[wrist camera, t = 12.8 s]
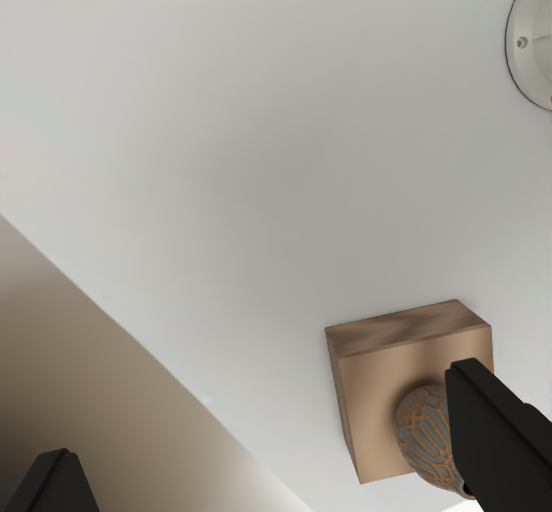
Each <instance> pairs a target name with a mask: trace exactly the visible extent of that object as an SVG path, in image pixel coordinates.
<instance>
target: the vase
mask: <svg viewBox="0 0 552 512" xmlns="http://www.w3.org/2000/svg"><path fill="white" fill-rule="evenodd" d="M394 428H395V435H396V440H397V443H398V446H399V448H400V450H401V452H402V455H403V456H404V458H405V460H406V461H407V463H408V464H409V465H410V467H411V468H412V469H413V470H414V471H415V472H416V473H417V474H418V475H419V476H420V477H421V478H423V479H424V480H425V481H427V482H428V483H430V484H432V485H434V486H436V487H438V488H441V489H444V490H448V491H452V492H456V493H458V494H459V495H460V496H462V497H464V498H465V499H468V500H476V499H475V497H474V496H473V494H472V492H471V491H470V489H469V488H468V486H467V485H466V483H465V482H464V480H463V479H462V477H461V475H460V474H459V472H458V471H457V469H456V466H455V464H454V461H453V457H452V448H451V437H450V427H449V416H448V405H447V395H446V387H444V386H440V385H427V386H422V387H419V388H416V389H414V390H413V391H411V392H410V393H408V394H407V395H406V396H405V397H404V398H403V399H402V401H401V402H400V404H399V406H398V408H397V410H396V414H395V421H394Z"/></svg>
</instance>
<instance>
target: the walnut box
mask: <svg viewBox="0 0 552 512" xmlns="http://www.w3.org/2000/svg"><path fill="white" fill-rule="evenodd" d="M325 333H326V338H327V344H328V349H329V355H330V360H331V366H332V371H333V377H334V382H335V388H336V394H337V399H338V405H339V410H340V416H341V421H342V427H343V432H344V438H345V442H346V444H347V447H348V450H349V453H350V456H351V459H352V462H353V465H354V467H355V470H356V473H357V476H358V479H359V482H360V484H364V483H368V482H373V481H377V480H382V479H386V478H390V477H395V476H399V475H403V474H408V473H412V472H415V471H414V470H413V469H412V468H411V467H410V465H409V464H408V463H407V461H406V460H405V458H404V456H403V455H402V452H401V450H400V448H399V446H398V443H397V440H396V435H395V428H394V421H395V414H396V410H397V408H398V406H399V404H400V402H401V401H402V399H403V398H404V397H405V396H406V395H407V394H408V393H410V392H411V391H413V390H414V389H416V388H419V387H422V386H427V385H440V386H444V387H446V384H445V370H446V369H450V365H451V363H452V362H454V361H459V360H463V359H468V358H472V357H474V358H476V359H478V360H479V361H480V362H481V363H482V364H483V365H484V366H485V367H486V368H487V369H488V370H489V371H491V372H492V373H493V374H494V366H493V348H492V330H491V325H489V324H488V323H487V322H485V321H484V320H483V319H481V318H480V317H479V316H477V315H476V314H475V313H473V312H472V311H471V310H470V309H468V308H467V307H466V306H464V305H463V304H462V303H460V302H459V301H458V300H451V301H446V302H442V303H437V304H433V305H428V306H423V307H419V308H414V309H410V310H405V311H401V312H396V313H391V314H387V315H382V316H378V317H373V318H369V319H364V320H359V321H355V322H350V323H346V324H341V325H336V326H332V327H327V328H325Z"/></svg>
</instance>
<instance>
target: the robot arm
mask: <svg viewBox="0 0 552 512" xmlns="http://www.w3.org/2000/svg"><path fill="white" fill-rule="evenodd" d="M517 43H518V46H517ZM506 52H507V58H508V64H509V67H510V70H511V73H512V76H513V78H514V80H515V82H516V83H517V85H518V87H519V88H520V90H521V91H522V92H523V93H524V94H525V95H526V96H527V97H528V98H529V99H530V100H531V101H533V102H534V103H536V104H537V105H539V106H541V107H543V108H546V109H549V110H552V0H515V2H514V5H513V8H512V11H511V14H510V17H509V22H508V28H507V34H506ZM445 384H446V395H447V405H448V416H449V427H450V437H451V448H452V457H453V461H454V464H455V466H456V469H457V471H458V472H459V474H460V475H461V477H462V479H463V480H464V482H465V483H466V485H467V486H468V488H469V489H470V491H471V492H472V494H473V496H474V497H475V499H476V500H477V502H478V503H479V505H480V506H481V508H482V509H483V511H484V512H552V422H551V421H549V420H548V419H547V418H546V417H545V416H544V415H543V414H542V413H541V412H540V411H539V410H538V409H536V408H535V407H534V406H532V405H531V404H528V403H523V402H522V401H521V400H520V399H519V398H518V397H517V396H516V395H515V394H514V393H513V392H512V391H511V390H510V389H509V388H507V387H506V386H505V385H504V384H503V383H502V382H501V381H500V380H499V379H498V378H497V377H496V376H495V375H494V374H493V373H492V372H491V371H489V370H488V369H487V368H486V367H485V366H484V365H483V364H482V363H481V362H480V361H479V360H478V359H476V358H474V357H472V358H468V359H463V360H459V361H454V362H452V363H451V365H450V369H446V370H445ZM3 512H100V511H99V509H98V506H97V504H96V501H95V499H94V496H93V494H92V491H91V489H90V486H89V484H88V481H87V479H86V476H85V474H84V471H83V469H82V466H81V464H80V461H79V459H78V457H77V455H76V454H75V453H70V452H69V450H68V449H66V448H63V449H58V450H54V451H49V452H45V453H41V454H39V456H38V457H37V458H36V460H35V461H34V463H33V464H32V466H31V468H30V469H29V471H28V472H27V474H26V476H25V477H24V479H23V481H22V482H21V484H20V485H19V487H18V489H17V490H16V492H15V493H14V495H13V497H12V498H11V500H10V501H9V503H8V505H7V506H6V508H5V509H4V511H3Z"/></svg>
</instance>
